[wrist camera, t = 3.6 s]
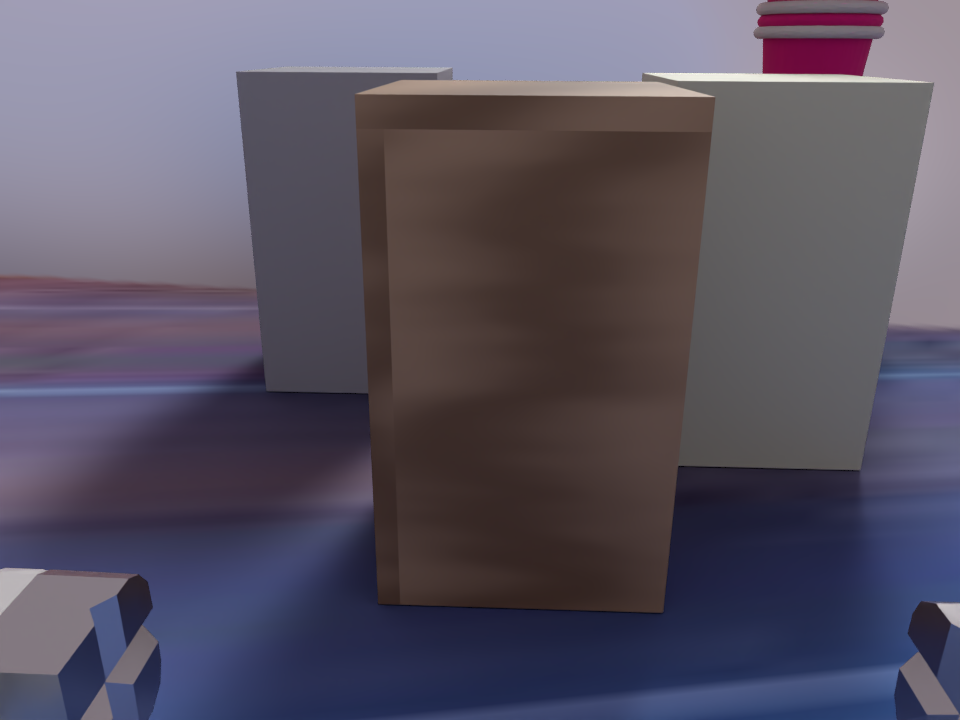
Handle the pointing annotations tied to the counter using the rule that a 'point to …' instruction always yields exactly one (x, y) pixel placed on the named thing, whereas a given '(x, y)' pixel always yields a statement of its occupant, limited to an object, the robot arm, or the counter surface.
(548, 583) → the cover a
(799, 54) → the pepper mill
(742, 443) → the cover
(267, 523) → the counter surface
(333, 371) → the cover
